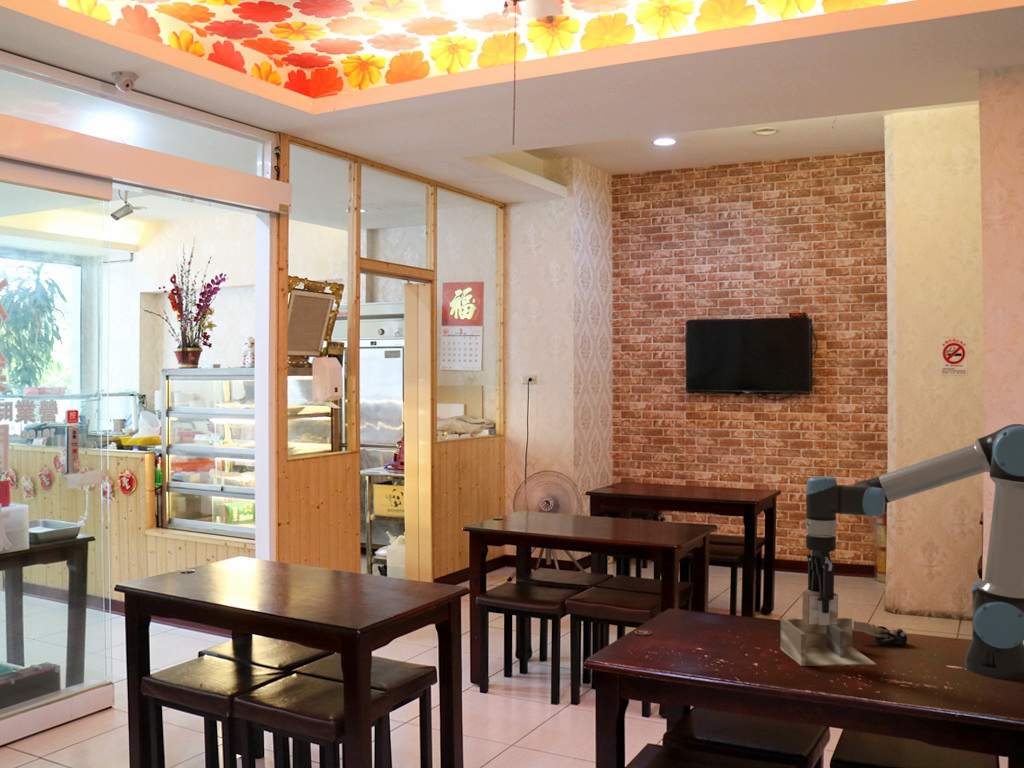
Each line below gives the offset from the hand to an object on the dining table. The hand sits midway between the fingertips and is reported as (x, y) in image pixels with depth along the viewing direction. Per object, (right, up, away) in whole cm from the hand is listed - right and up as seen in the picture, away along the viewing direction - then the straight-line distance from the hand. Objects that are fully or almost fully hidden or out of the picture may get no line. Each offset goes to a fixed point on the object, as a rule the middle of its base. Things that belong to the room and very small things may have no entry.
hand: (820, 621), depth 241 cm
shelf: (+3, -11, +5) cm, 12 cm away
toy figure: (+16, -8, +20) cm, 27 cm away
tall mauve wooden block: (0, 0, 0) cm, 0 cm away
